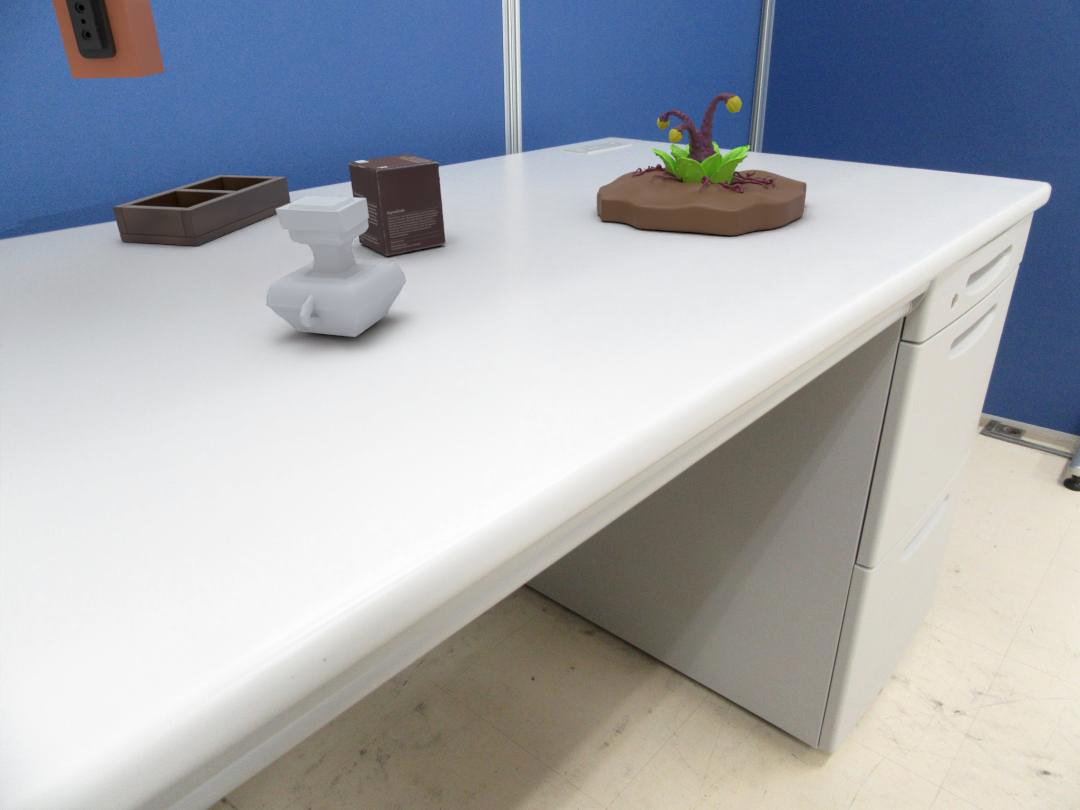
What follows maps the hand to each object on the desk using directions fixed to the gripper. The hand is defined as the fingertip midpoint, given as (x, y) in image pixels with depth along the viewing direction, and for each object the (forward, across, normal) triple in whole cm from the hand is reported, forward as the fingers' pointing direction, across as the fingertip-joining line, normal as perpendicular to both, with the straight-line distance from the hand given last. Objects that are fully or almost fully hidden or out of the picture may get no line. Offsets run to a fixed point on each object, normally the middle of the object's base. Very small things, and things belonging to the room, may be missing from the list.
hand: (115, 54), depth 55 cm
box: (+17, -8, +18) cm, 26 cm away
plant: (+16, -17, +47) cm, 53 cm away
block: (+1, 0, 0) cm, 1 cm away
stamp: (+17, +12, +16) cm, 26 cm away
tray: (+17, -20, -3) cm, 26 cm away
